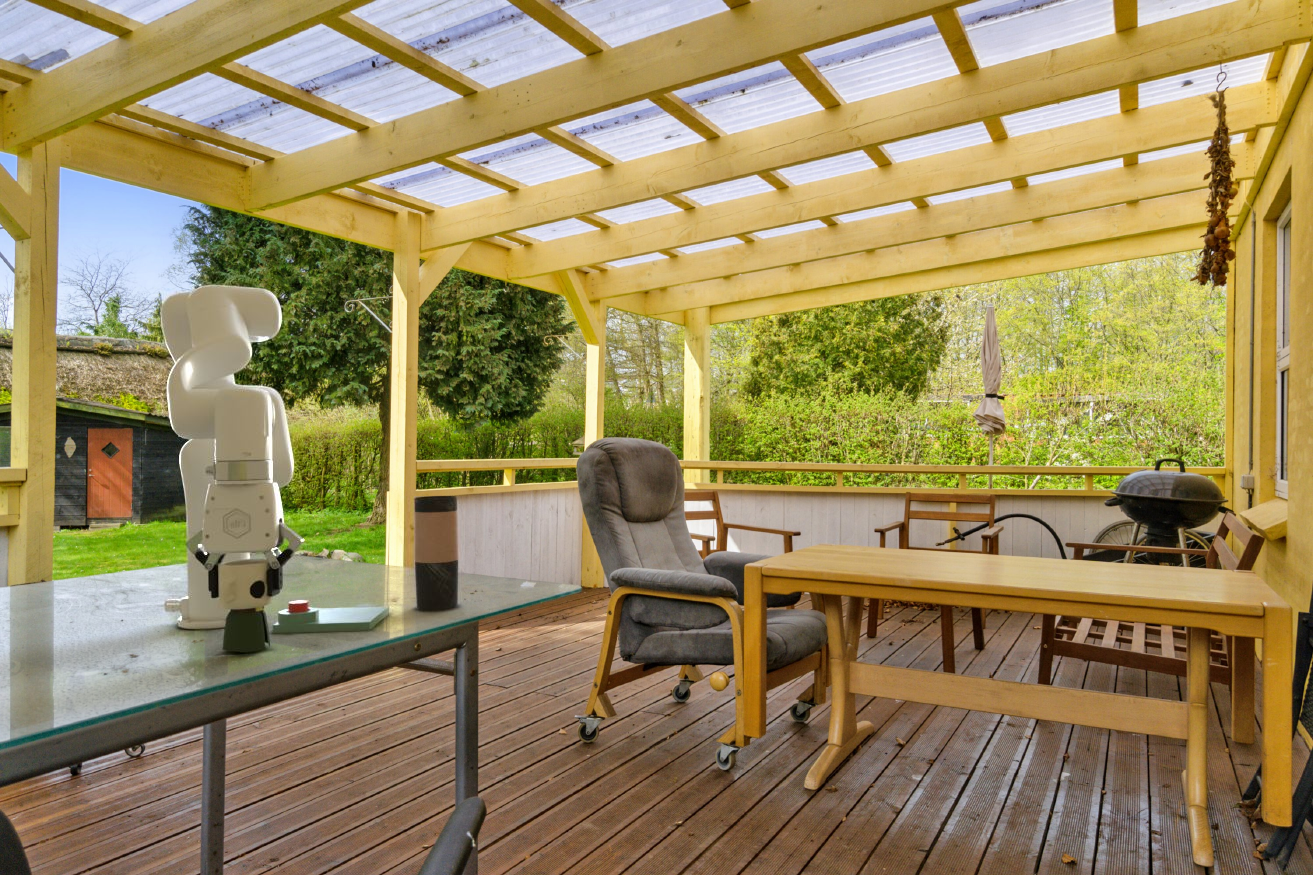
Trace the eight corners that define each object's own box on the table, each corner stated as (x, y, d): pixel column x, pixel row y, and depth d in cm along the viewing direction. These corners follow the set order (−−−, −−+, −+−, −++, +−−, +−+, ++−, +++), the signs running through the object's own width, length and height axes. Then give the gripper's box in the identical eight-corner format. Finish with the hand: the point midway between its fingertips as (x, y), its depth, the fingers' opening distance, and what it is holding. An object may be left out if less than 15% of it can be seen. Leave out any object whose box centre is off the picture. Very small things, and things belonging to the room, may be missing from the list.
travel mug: (464, 603, 158) (463, 495, 158) (450, 612, 151) (449, 498, 151) (424, 603, 159) (423, 495, 159) (408, 612, 152) (407, 498, 152)
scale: (272, 633, 136) (272, 614, 136) (300, 616, 149) (300, 599, 149) (369, 630, 137) (369, 611, 137) (389, 614, 150) (388, 597, 150)
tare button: (285, 614, 137) (285, 603, 137) (292, 610, 140) (292, 600, 140) (305, 614, 138) (304, 603, 138) (311, 610, 141) (311, 599, 141)
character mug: (249, 661, 119) (247, 567, 119) (200, 661, 119) (198, 567, 119) (289, 642, 130) (288, 556, 130) (244, 642, 130) (243, 556, 130)
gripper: (169, 475, 120) (171, 602, 120) (297, 473, 121) (298, 598, 121) (194, 473, 128) (195, 592, 127) (314, 471, 129) (316, 589, 129)
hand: (246, 594), depth 124 cm, fingers closed on character mug, 7 cm apart
